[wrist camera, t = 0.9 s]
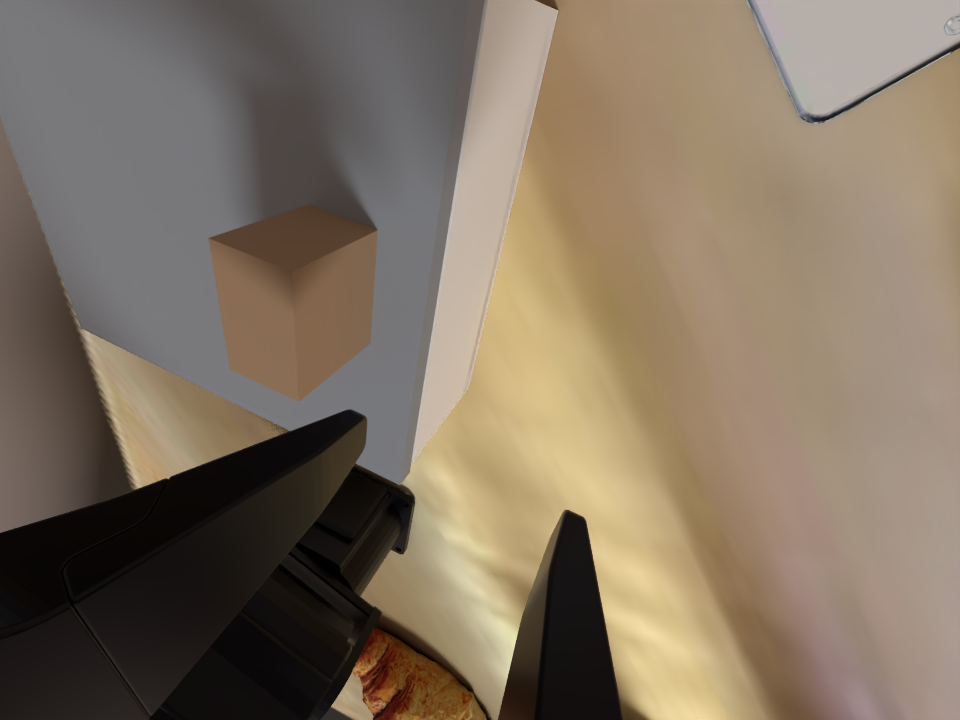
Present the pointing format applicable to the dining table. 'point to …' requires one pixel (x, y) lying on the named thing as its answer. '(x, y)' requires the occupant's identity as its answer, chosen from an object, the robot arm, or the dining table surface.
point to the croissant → (410, 684)
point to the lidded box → (483, 195)
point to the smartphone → (852, 47)
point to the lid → (251, 189)
